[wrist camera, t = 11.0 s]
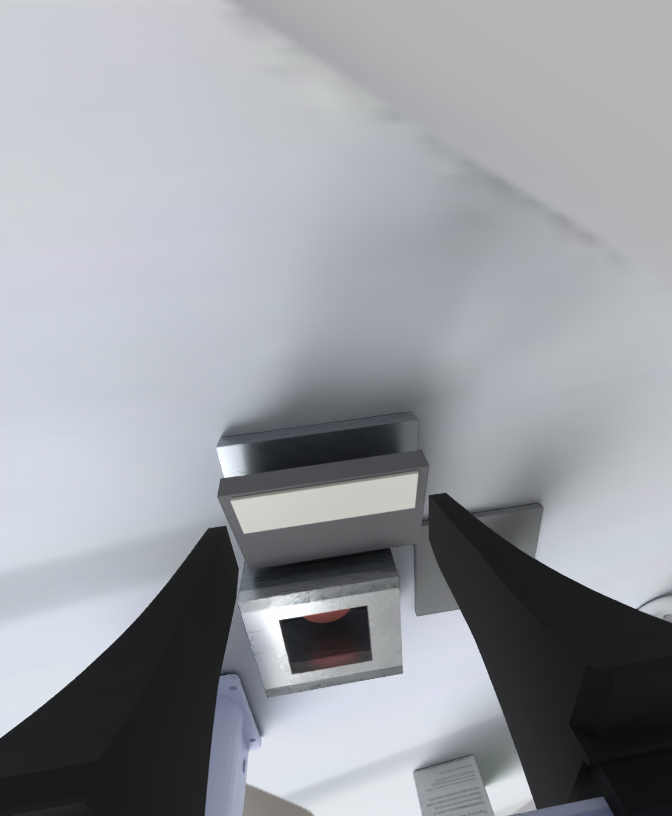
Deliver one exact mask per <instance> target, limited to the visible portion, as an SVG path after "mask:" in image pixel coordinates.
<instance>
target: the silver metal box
mask: <svg viewBox="0 0 672 816" xmlns="http://www.w3.org/2000/svg"><path fill="white" fill-rule="evenodd" d="M216 449H217V453H218V456H219V460H220V464H221V467H222V471H223V475H224V478H228V477H235V476H242V475H249V474H256V473H263V472H270V471H277V470H284V469H291V468H298V467H305V466H312V465H319V464H326V463H333V462H340V461H347V460H353V459H360V458H367V457H374V456H381V455H388V454H395V453H402V452H409V451H416V450H418V419H417V417H416V416H415V415H414V413H413V412H405V413H398V414H391V415H383V416H376V417H369V418H362V419H354V420H347V421H340V422H332V423H325V424H318V425H311V426H303V427H296V428H289V429H281V430H274V431H267V432H260V433H252V434H245V435H238V436H231V437H223V438H220V439H219V442H218V444H217V447H216ZM238 605H239V609H240V612H241V615H242V618H243V622H244V625H245V628H246V631H247V634H248V638H249V641H250V644H251V647H252V650H253V654H254V657H255V660H256V663H257V667H258V670H259V673H260V676H261V679H262V683H263V686H264V689H265V692H266V695H267V698H268V697H274V696H279V695H285V694H290V693H296V692H302V691H307V690H313V689H318V688H324V687H330V686H335V685H341V684H346V683H352V682H357V681H363V680H369V679H374V678H380V677H385V676H391V675H397V674H402V673H403V668H402V642H401V617H400V592H399V575H398V572H397V569H396V566H395V563H394V560H393V557H392V553H391V550H390V548H385V549H379V550H373V551H366V552H360V553H354V554H347V555H341V556H335V557H329V558H322V559H316V560H310V561H303V562H297V563H291V564H284V565H278V566H272V567H265V568H259V569H253V570H249V568H248V565H247V563H246V561H245V562H244V568H243V574H242V580H241V586H240V592H239V598H238ZM348 608H350V609H349V611H348V612H347V613H346V614H345V615H344V616H343V617H341V618H339V619H337V620H335V621H332V622H327V623H316V622H312V621H309V620H307V619H305V618H304V617H303V616H306V615H312V614H318V613H324V612H330V611H336V610H342V609H348Z"/></svg>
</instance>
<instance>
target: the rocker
mask: <svg viewBox="0 0 672 816" xmlns="http://www.w3.org/2000/svg"><path fill="white" fill-rule="evenodd" d="M428 470H429V465H428V462H427V460H426V458H425V456H424V454H423V451H422V450H416V451H409V452H402V453H395V454H388V455H381V456H374V457H367V458H360V459H353V460H347V461H340V462H333V463H326V464H319V465H312V466H305V467H298V468H291V469H284V470H277V471H270V472H263V473H256V474H249V475H242V476H235V477H228V478H221V479H220V485H219V490H218V496H217V497H218V500H219V502H220V504H221V506H222V509H223V511H224V513H225V515H226V518H227V520H228V522H229V524H230V527H231V529H232V531H233V534H234V536H235V538H236V540H237V543H238V545H239V547H240V549H241V552H242V554H243V556H244V558H245V561H246V563H247V565H248V568H249V570H253V569H259V568H265V567H272V566H278V565H284V564H291V563H297V562H303V561H310V560H316V559H322V558H329V557H335V556H341V555H347V554H354V553H360V552H366V551H373V550H379V549H385V548H392V547H398V546H404V545H411V544H417V543H419V539H420V532H421V524H422V516H423V509H424V501H425V493H426V486H427V478H428Z"/></svg>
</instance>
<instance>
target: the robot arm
mask: <svg viewBox="0 0 672 816" xmlns="http://www.w3.org/2000/svg"><path fill="white" fill-rule="evenodd" d="M429 541H430V544H431V547H432V550H433V553H434V556H435V558H436V561H437V564H438V566H439V568H440V570H441V572H442V574H443V576H444V578H445V580H446V582H447V584H448V587H449V589H450V590H451V592H452V594H453V596H454V598H455V600H456V602H457V604H458V606H459V608H460V610H461V612H462V614H463V616H464V618H465V620H466V622H467V624H468V626H469V628H470V630H471V633H472V635H473V637H474V639H475V641H476V644H477V646H478V649H479V651H480V654H481V656H482V659H483V661H484V664H485V666H486V669H487V671H488V674H489V677H490V679H491V682H492V685H493V687H494V690H495V692H496V695H497V698H498V700H499V703H500V706H501V708H502V711H503V714H504V716H505V719H506V722H507V725H508V728H509V730H510V733H511V736H512V739H513V741H514V744H515V747H516V750H517V753H518V755H519V758H520V761H521V764H522V767H523V770H524V773H525V776H526V779H527V782H528V785H529V788H530V791H531V794H532V796H533V799H534V802H535V805H536V809H537V810H534V811H529V812H524V813H519V814H514V815H509V816H672V623H671V622H668V621H666V620H663V619H660V618H658V617H655V616H653V615H650V614H647V613H645V612H642V611H639V610H637V609H634V608H632V607H630V606H627V605H625V604H623V603H620V602H618V601H616V600H614V599H611V598H609V597H607V596H604V595H602V594H600V593H598V592H596V591H594V590H592V589H590V588H587V587H585V586H584V585H582V584H580V583H578V582H576V581H574V580H572V579H570V578H568V577H566V576H564V575H562V574H560V573H558V572H557V571H555V570H553V569H551V568H549V567H548V566H546V565H544V564H543V563H541V562H539V561H538V560H536V559H534V558H533V557H531V556H529V555H528V554H526V553H525V552H523V551H521V550H520V549H518V548H517V547H516V546H514V545H513V544H511V543H510V542H508V541H507V540H505V539H504V538H502V537H501V536H500V535H498V534H497V533H496V532H494V531H493V530H492V529H490V528H489V527H488V526H486V525H485V524H484V523H482V522H481V521H480V520H479V519H477V518H476V517H475V516H473V515H472V514H471V513H470V512H469V511H467V510H466V509H465V508H464V507H462V506H461V505H460V504H459V503H458V502H456V501H455V500H454V499H453V498H451V497H450V496H449V495H448V494H446V493H441V494H435V495H429ZM238 571H239V568H238V565H237V561H236V558H235V555H234V551H233V548H232V544H231V541H230V538H229V534H228V531H227V527H226V526H222V527H215V528H208V530H207V531H206V532H205V533H204V535H203V536H202V537H201V539H200V540H199V542H198V543H197V544H196V546H195V547H194V548H193V550H192V551H191V553H190V554H189V555H188V557H187V558H186V559H185V561H184V562H183V563H182V565H181V566H180V567H179V569H178V570H177V571H176V573H175V574H174V575H173V576H172V578H171V579H170V580H169V582H168V583H167V584H166V585H165V587H164V588H163V589H162V590H161V591H160V593H159V594H158V595H157V596H156V597H155V599H154V600H153V601H152V602H151V603H150V605H149V606H148V607H147V608H146V609H145V610H144V611H143V613H142V614H141V615H140V616H139V617H138V618H137V619H136V620H135V621H134V622H133V624H132V625H131V626H130V627H129V628H128V629H127V630H126V631H125V632H124V633H123V634H122V635H121V636H120V637H119V638H118V639H117V640H116V641H115V642H114V643H113V644H112V645H111V646H110V647H109V648H108V649H107V650H105V651H104V652H103V653H102V654H101V655H100V656H99V657H98V658H97V659H96V660H95V661H94V662H93V663H92V664H91V665H89V666H88V667H87V668H86V669H85V670H84V671H83V672H82V673H81V674H80V675H78V676H77V677H76V678H75V679H74V680H73V681H72V682H70V683H69V684H68V685H67V686H66V687H65V688H63V689H62V690H61V691H60V692H59V693H57V694H56V695H55V696H54V697H53V698H51V699H50V700H49V701H48V702H47V703H45V704H44V705H43V706H42V707H40V708H39V709H38V710H37V711H35V712H34V713H33V714H32V715H30V716H29V717H28V718H26V719H25V720H24V721H22V722H21V723H20V724H18V725H17V726H16V727H15V728H13V729H12V730H11V731H9V732H8V733H7V734H5V735H4V736H3V737H1V738H0V816H242V815H243V804H244V794H245V783H246V773H247V762H248V752H249V751H251V750H256V749H259V748H260V747H261V738H260V735H259V732H258V729H257V727H256V724H255V721H254V718H253V715H252V712H251V710H250V707H249V704H248V701H247V698H246V695H245V693H244V690H243V687H242V684H241V681H240V678H239V677H238V675H236V674H229V675H223V676H220V673H221V668H222V663H223V659H224V654H225V649H226V644H227V640H228V635H229V630H230V626H231V621H232V616H233V611H234V606H235V601H236V594H237V583H238Z"/></svg>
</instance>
